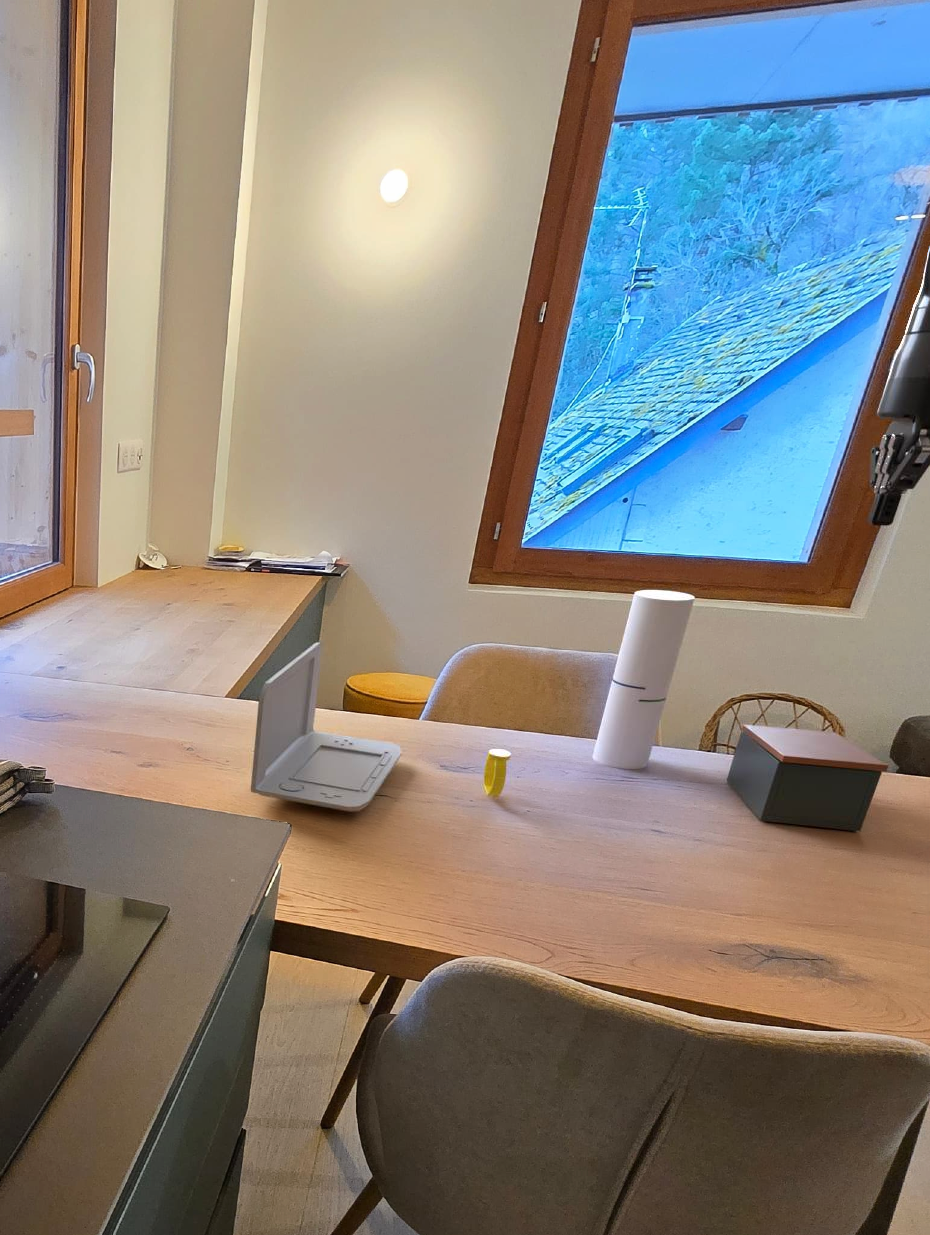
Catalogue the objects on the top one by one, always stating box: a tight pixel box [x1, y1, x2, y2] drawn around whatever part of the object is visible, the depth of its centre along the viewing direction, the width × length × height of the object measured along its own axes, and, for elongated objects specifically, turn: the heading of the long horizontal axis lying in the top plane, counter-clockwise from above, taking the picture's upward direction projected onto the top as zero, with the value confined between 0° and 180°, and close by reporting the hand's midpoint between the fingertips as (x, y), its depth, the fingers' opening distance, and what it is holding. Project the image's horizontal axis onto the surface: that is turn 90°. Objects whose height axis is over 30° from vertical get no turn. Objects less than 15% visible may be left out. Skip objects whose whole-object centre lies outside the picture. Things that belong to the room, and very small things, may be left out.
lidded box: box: [726, 730, 883, 832], centre depth 126 cm, size 16×11×8 cm
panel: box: [741, 724, 889, 772], centre depth 124 cm, size 16×11×1 cm, turn 160°
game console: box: [250, 641, 403, 813], centre depth 134 cm, size 28×15×15 cm, turn 149°
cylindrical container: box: [592, 589, 695, 770], centre depth 138 cm, size 7×7×25 cm
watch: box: [483, 748, 512, 797], centre depth 130 cm, size 6×3×6 cm, turn 167°
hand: (878, 524), depth 123 cm, fingers closed
